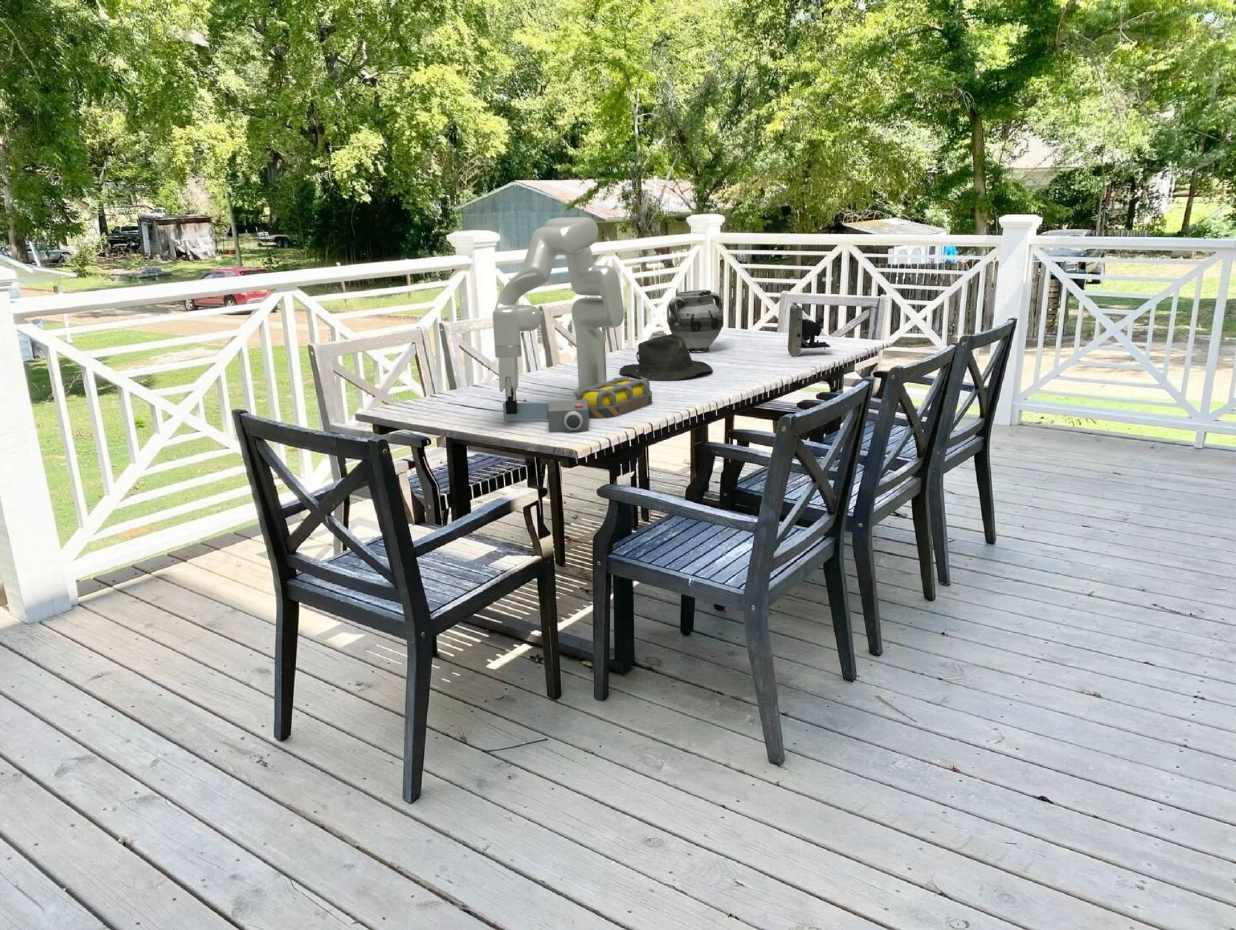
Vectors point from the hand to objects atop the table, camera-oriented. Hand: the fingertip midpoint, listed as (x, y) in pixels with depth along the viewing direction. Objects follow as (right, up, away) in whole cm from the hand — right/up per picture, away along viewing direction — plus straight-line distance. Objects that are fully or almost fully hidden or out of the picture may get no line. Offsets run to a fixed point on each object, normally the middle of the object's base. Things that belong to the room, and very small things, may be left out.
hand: (511, 413), depth 272 cm
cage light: (+30, +2, +16) cm, 34 cm away
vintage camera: (+107, +29, +96) cm, 147 cm away
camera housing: (+17, -4, -5) cm, 18 cm away
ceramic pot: (+64, +32, +116) cm, 136 cm away
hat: (+49, +19, +71) cm, 88 cm away
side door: (+4, -2, +3) cm, 6 cm away
